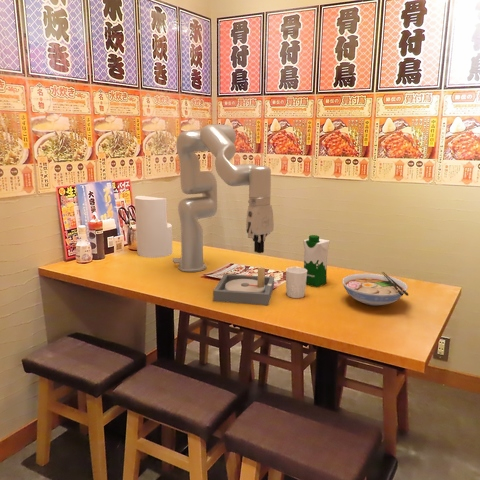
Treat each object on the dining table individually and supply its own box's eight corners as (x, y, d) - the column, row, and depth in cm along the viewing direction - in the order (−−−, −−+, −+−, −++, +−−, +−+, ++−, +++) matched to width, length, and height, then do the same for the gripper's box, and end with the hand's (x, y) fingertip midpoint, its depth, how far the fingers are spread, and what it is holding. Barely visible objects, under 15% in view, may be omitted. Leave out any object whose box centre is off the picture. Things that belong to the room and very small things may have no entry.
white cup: (292, 300, 167) (293, 274, 165) (281, 293, 174) (281, 268, 171) (310, 296, 170) (311, 271, 168) (298, 290, 177) (299, 265, 175)
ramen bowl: (335, 289, 178) (336, 269, 176) (394, 290, 178) (396, 270, 176) (347, 315, 154) (349, 292, 152) (416, 317, 153) (418, 294, 151)
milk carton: (299, 283, 185) (301, 235, 180) (312, 278, 191) (314, 231, 187) (317, 288, 179) (320, 239, 174) (330, 283, 186) (332, 235, 181)
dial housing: (213, 301, 165) (213, 290, 164) (224, 283, 184) (224, 273, 183) (268, 305, 162) (268, 294, 161) (273, 286, 181) (274, 276, 180)
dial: (221, 295, 167) (221, 272, 165) (229, 282, 181) (229, 260, 179) (262, 298, 165) (262, 275, 162) (266, 285, 179) (267, 263, 177)
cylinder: (155, 259, 216) (153, 201, 209) (129, 253, 225) (127, 197, 218) (179, 251, 230) (178, 196, 223) (154, 246, 239) (152, 193, 232)
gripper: (252, 205, 152) (252, 258, 157) (281, 200, 163) (280, 250, 167) (237, 202, 157) (237, 254, 162) (265, 198, 168) (265, 246, 172)
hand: (259, 252), depth 164 cm, fingers closed
